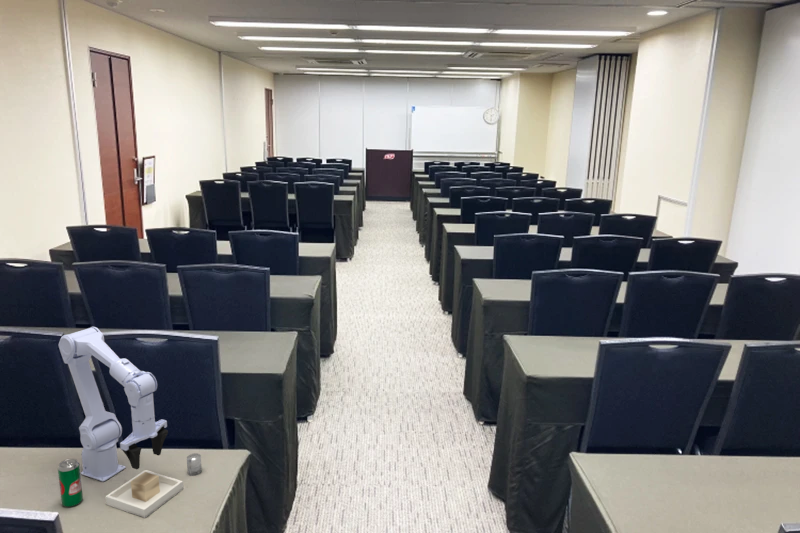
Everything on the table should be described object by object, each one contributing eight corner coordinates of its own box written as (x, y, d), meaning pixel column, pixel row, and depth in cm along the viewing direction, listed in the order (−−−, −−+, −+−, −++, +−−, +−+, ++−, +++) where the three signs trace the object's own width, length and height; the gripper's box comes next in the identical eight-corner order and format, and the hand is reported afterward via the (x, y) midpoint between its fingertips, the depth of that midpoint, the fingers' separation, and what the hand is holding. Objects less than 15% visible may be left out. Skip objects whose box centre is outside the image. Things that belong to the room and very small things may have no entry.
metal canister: (184, 473, 168) (183, 458, 167) (194, 467, 172) (193, 452, 171) (195, 477, 167) (194, 462, 166) (204, 470, 170) (203, 455, 169)
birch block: (132, 497, 155) (130, 481, 154) (146, 487, 160) (145, 471, 159) (145, 502, 154) (144, 485, 153) (159, 491, 158) (158, 476, 157)
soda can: (73, 509, 151) (69, 469, 148) (57, 506, 152) (52, 467, 149) (87, 498, 156) (83, 459, 153) (71, 495, 156) (67, 456, 154)
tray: (106, 504, 153) (105, 496, 153) (146, 477, 166) (145, 469, 165) (145, 518, 148) (144, 509, 148) (183, 488, 161) (182, 481, 160)
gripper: (132, 432, 147) (136, 478, 150) (174, 408, 160) (176, 451, 163) (112, 426, 149) (117, 471, 152) (155, 403, 162) (158, 446, 165)
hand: (146, 460), depth 158 cm, fingers open, 7 cm apart
